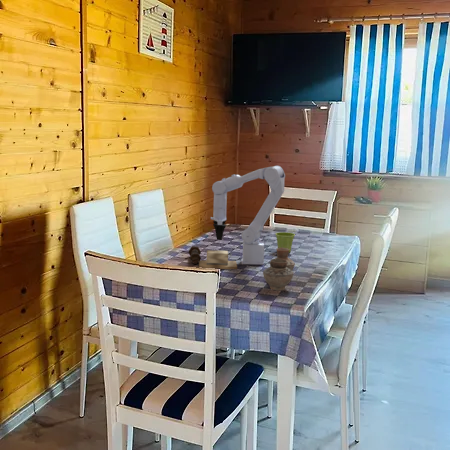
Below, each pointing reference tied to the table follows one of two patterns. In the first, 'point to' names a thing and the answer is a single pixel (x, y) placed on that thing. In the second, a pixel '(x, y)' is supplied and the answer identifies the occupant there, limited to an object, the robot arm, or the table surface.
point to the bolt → (194, 254)
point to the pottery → (279, 270)
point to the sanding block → (217, 257)
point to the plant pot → (285, 240)
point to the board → (230, 265)
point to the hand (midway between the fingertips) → (219, 238)
